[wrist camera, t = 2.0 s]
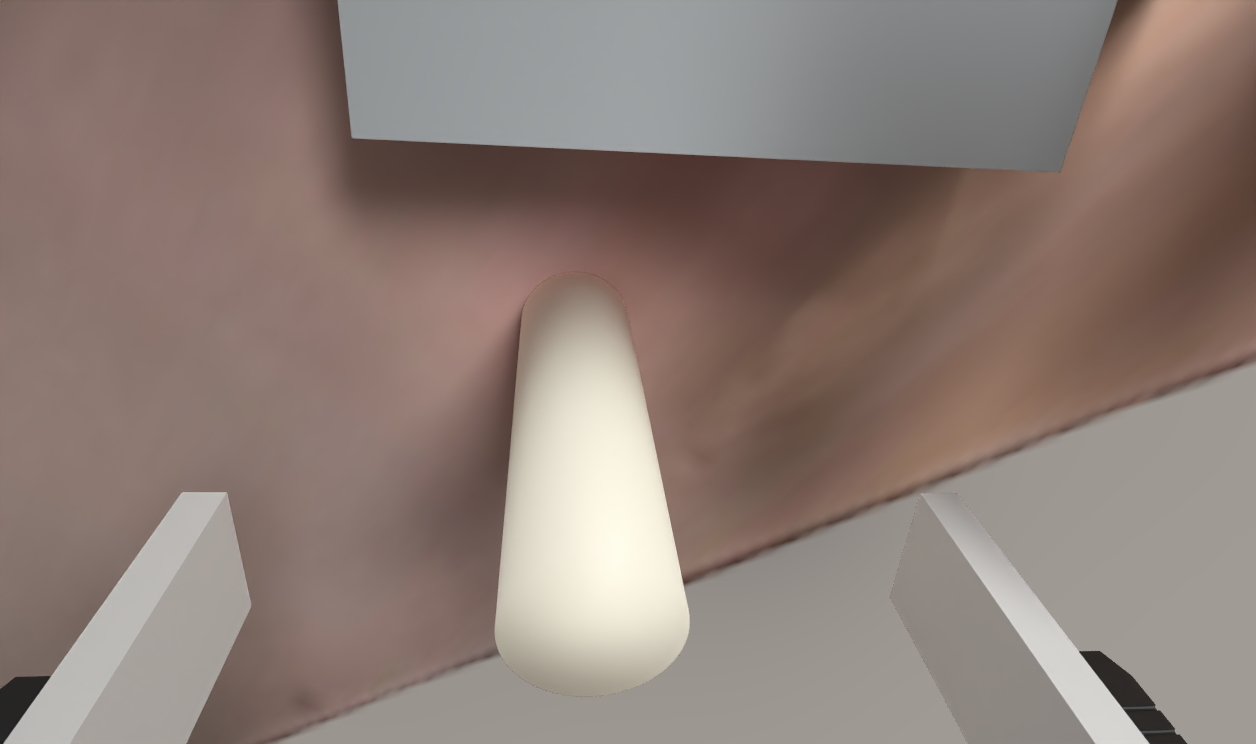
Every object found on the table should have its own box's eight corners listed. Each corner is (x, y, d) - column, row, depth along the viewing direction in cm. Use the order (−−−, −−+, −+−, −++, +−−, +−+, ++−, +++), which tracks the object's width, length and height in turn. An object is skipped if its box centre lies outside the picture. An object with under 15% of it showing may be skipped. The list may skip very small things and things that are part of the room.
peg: (521, 270, 22) (492, 557, 12) (631, 273, 22) (700, 555, 12) (521, 367, 24) (496, 699, 13) (624, 369, 24) (679, 693, 13)
